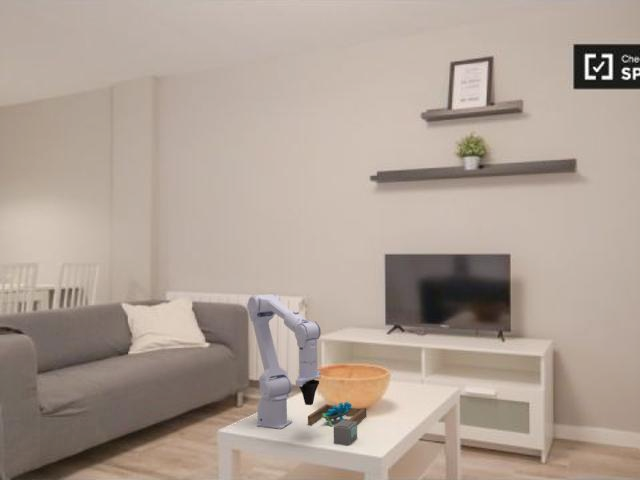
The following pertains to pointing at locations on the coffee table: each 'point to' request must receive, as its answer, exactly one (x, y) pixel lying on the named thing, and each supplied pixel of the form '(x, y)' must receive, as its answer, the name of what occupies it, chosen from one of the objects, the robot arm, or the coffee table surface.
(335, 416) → the blue green toy construction
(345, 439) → the block
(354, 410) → the frame
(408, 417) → the coffee table surface
